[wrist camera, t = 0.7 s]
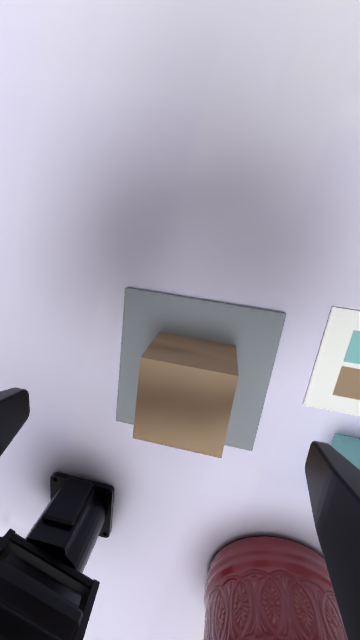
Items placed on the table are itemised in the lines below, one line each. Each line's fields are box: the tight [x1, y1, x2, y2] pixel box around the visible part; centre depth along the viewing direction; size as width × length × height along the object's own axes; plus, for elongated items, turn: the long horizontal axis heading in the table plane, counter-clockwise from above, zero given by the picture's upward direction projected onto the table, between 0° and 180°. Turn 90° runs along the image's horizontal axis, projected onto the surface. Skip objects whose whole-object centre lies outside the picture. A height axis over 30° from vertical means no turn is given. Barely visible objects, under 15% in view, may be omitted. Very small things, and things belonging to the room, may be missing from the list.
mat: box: [116, 288, 286, 451], centre depth 23 cm, size 12×12×1 cm
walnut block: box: [133, 332, 239, 458], centre depth 20 cm, size 6×6×5 cm
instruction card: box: [303, 307, 360, 417], centre depth 20 cm, size 8×6×1 cm
